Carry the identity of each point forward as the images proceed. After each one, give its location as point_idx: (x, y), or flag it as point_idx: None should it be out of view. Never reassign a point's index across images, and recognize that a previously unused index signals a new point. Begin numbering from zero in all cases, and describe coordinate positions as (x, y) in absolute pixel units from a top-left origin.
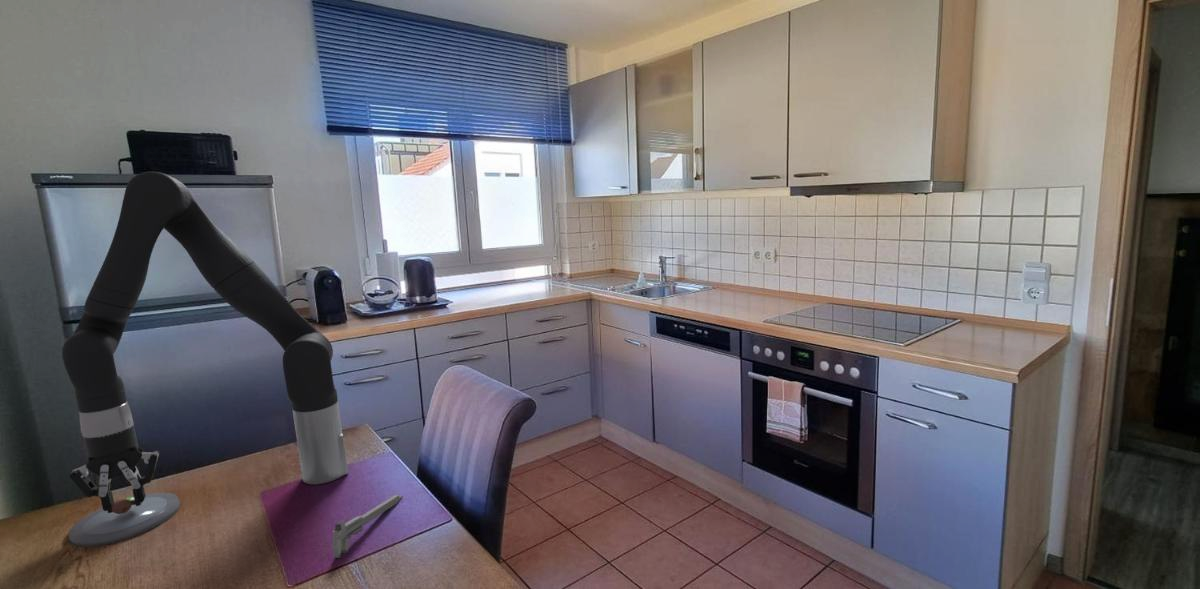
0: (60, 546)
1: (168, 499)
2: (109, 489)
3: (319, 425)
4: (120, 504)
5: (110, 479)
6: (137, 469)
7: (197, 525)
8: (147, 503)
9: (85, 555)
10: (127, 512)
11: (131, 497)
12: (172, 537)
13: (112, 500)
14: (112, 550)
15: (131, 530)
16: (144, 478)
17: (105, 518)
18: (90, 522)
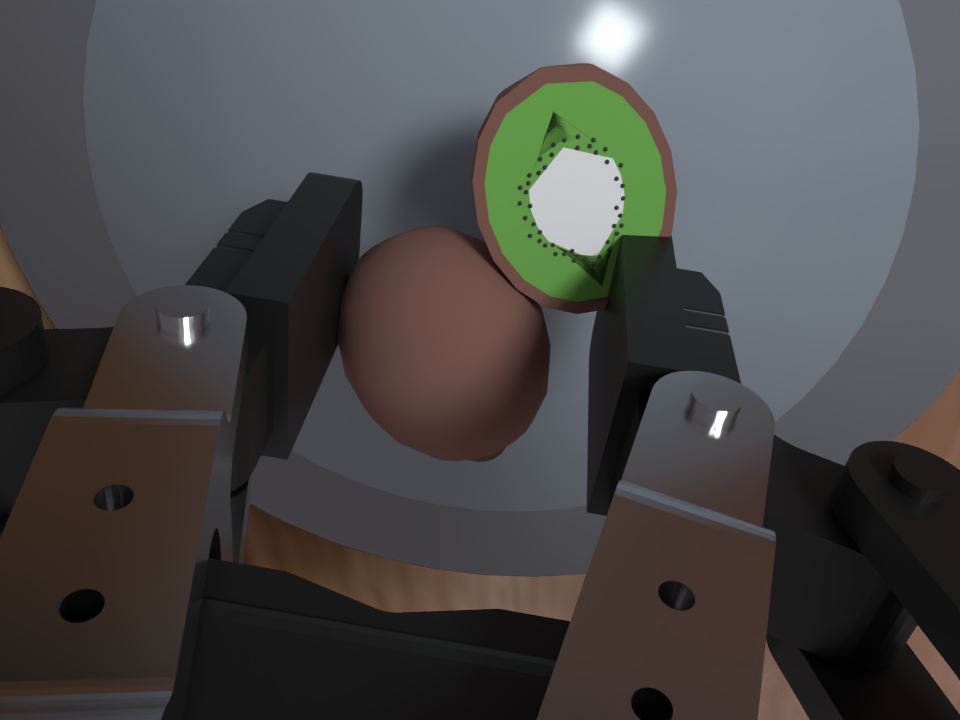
0: (13, 284)
1: (947, 133)
2: (253, 369)
3: None
4: (439, 455)
5: (225, 482)
6: (767, 577)
7: (948, 680)
8: (713, 62)
9: (264, 553)
10: None
11: (549, 138)
12: (768, 706)
13: (326, 289)
14: (423, 607)
15: (535, 561)
16: (798, 689)
17: (277, 138)
18: (138, 129)
